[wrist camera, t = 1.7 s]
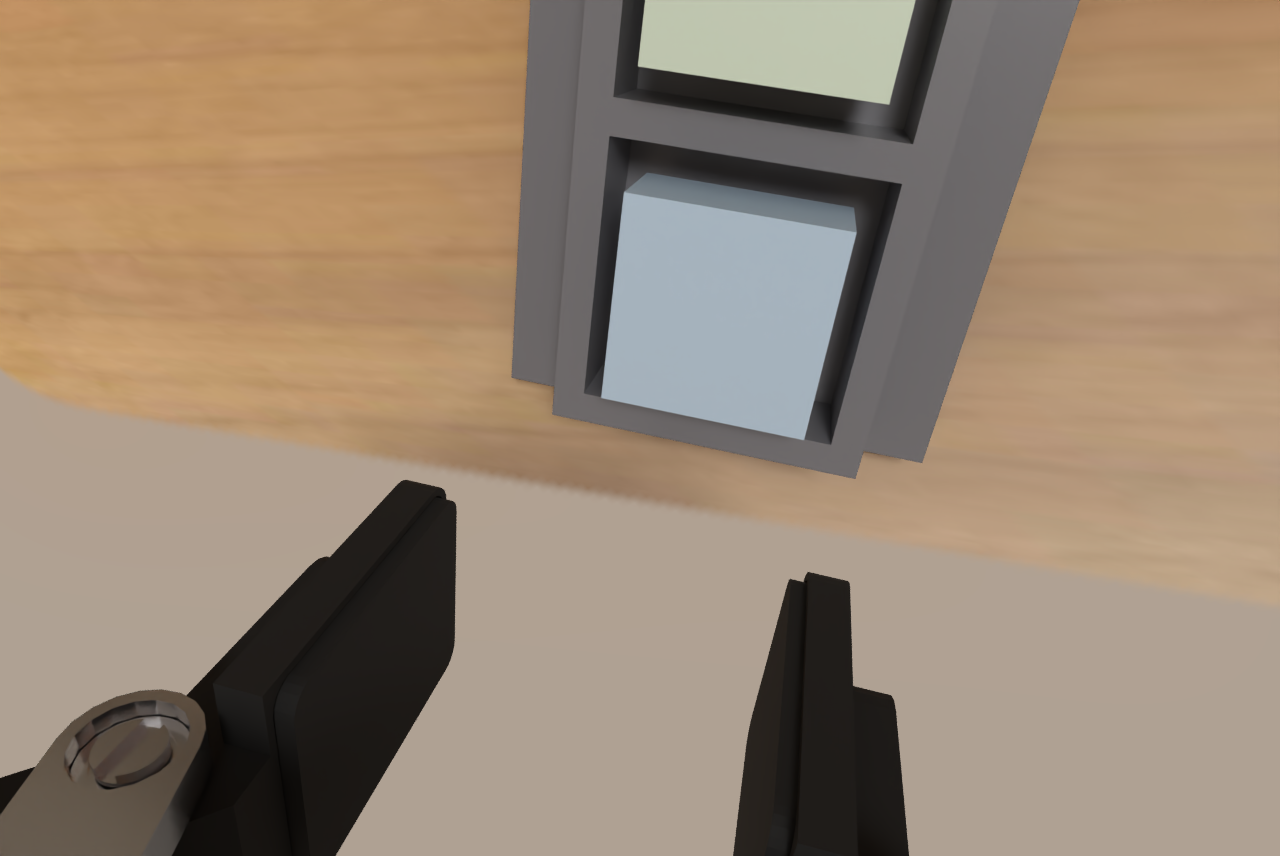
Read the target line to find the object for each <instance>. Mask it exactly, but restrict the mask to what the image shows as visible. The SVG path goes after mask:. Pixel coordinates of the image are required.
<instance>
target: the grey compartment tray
mask: <svg viewBox="0 0 1280 856" xmlns="http://www.w3.org/2000/svg"><path fill="white" fill-rule="evenodd" d="M1078 3H1079V0H916V1H915V5H914V9H913V13H912V16H911V20H910V24H909V28H908V32H907V36H906V40H905V44H904V48H903V52H902V56H901V60H900V64H899V68H898V72H897V76H896V80H895V83H894V87H893V91H892V95H891V99H890V103H889V105H888V104H881V103H875V102H868V101H862V100H855V99H849V98H842V97H835V96H829V95H822V94H816V93H809V92H803V91H796V90H789V89H783V88H776V87H770V86H763V85H757V84H750V83H743V82H737V81H730V80H724V79H717V78H710V77H704V76H697V75H691V74H684V73H678V72H671V71H664V70H658V69H651V68H645V67H638V60H639V51H640V42H641V33H642V24H643V15H644V6H645V0H530V19H529V39H528V59H527V79H526V99H525V119H524V139H523V159H522V179H521V199H520V220H519V240H518V260H517V280H516V300H515V320H514V340H513V360H512V378H515V379H520V380H525V381H530V382H535V383H540V384H544V385H549V386H554V399H553V412H552V415H557V416H562V417H566V418H571V419H576V420H580V421H585V422H590V423H595V424H599V425H604V426H609V427H613V428H618V429H623V430H628V431H632V432H637V433H642V434H646V435H651V436H656V437H660V438H665V439H670V440H675V441H679V442H684V443H689V444H693V445H698V446H703V447H707V448H712V449H717V450H722V451H726V452H731V453H736V454H740V455H745V456H750V457H754V458H759V459H764V460H769V461H773V462H778V463H783V464H787V465H792V466H797V467H801V468H806V469H811V470H816V471H820V472H825V473H830V474H834V475H839V476H844V477H849V478H853V479H855V478H856V475H857V472H858V468H859V465H860V462H861V458H862V455H863V451H867V452H871V453H876V454H881V455H886V456H891V457H895V458H900V459H905V460H910V461H915V462H919V463H922V462H923V459H924V456H925V453H926V450H927V447H928V444H929V441H930V438H931V435H932V432H933V429H934V426H935V423H936V420H937V418H938V415H939V412H940V409H941V406H942V403H943V400H944V397H945V394H946V391H947V388H948V385H949V382H950V379H951V376H952V373H953V371H954V368H955V365H956V362H957V359H958V356H959V353H960V350H961V347H962V344H963V341H964V338H965V335H966V332H967V329H968V326H969V324H970V321H971V318H972V315H973V312H974V309H975V306H976V303H977V300H978V297H979V294H980V291H981V288H982V285H983V282H984V279H985V277H986V274H987V271H988V268H989V265H990V262H991V259H992V256H993V253H994V250H995V247H996V244H997V241H998V238H999V235H1000V232H1001V229H1002V227H1003V224H1004V221H1005V218H1006V215H1007V212H1008V209H1009V206H1010V203H1011V200H1012V197H1013V194H1014V191H1015V188H1016V185H1017V182H1018V180H1019V177H1020V174H1021V171H1022V168H1023V165H1024V162H1025V159H1026V156H1027V153H1028V150H1029V147H1030V144H1031V141H1032V138H1033V135H1034V133H1035V130H1036V127H1037V124H1038V121H1039V118H1040V115H1041V112H1042V109H1043V106H1044V103H1045V100H1046V97H1047V94H1048V91H1049V88H1050V85H1051V83H1052V80H1053V77H1054V74H1055V71H1056V68H1057V65H1058V62H1059V59H1060V56H1061V53H1062V50H1063V47H1064V44H1065V41H1066V38H1067V36H1068V33H1069V30H1070V27H1071V24H1072V21H1073V18H1074V15H1075V12H1076V9H1077V6H1078ZM646 173H653V174H659V175H665V176H671V177H676V178H682V179H688V180H694V181H700V182H706V183H712V184H718V185H724V186H730V187H735V188H741V189H747V190H753V191H759V192H765V193H771V194H777V195H783V196H789V197H795V198H800V199H806V200H812V201H818V202H824V203H830V204H836V205H842V206H848V207H854V212H855V222H856V231H857V233H856V237H855V241H854V245H853V249H852V253H851V257H850V261H849V265H848V269H847V273H846V277H845V281H844V285H843V289H842V292H841V296H840V300H839V304H838V308H837V312H836V316H835V320H834V324H833V328H832V332H831V336H830V340H829V344H828V348H827V352H826V356H825V360H824V363H823V367H822V371H821V375H820V379H819V383H818V387H817V391H816V395H815V399H814V403H813V407H812V411H811V415H810V419H809V423H808V427H807V430H806V434H805V438H804V440H800V439H796V438H791V437H786V436H781V435H776V434H772V433H767V432H762V431H757V430H752V429H748V428H743V427H738V426H733V425H728V424H724V423H719V422H714V421H709V420H704V419H700V418H695V417H690V416H685V415H680V414H676V413H671V412H666V411H661V410H656V409H652V408H647V407H642V406H637V405H632V404H628V403H623V402H618V401H613V400H608V399H604V398H601V395H602V386H603V377H604V368H605V359H606V350H607V341H608V332H609V323H610V314H611V305H612V296H613V286H614V277H615V268H616V259H617V250H618V241H619V232H620V223H621V214H622V205H623V196H624V192H625V191H626V190H627V189H628V188H630V187H631V186H632V185H633V184H634V183H635V182H637V181H638V180H639V179H640V178H641V177H643V176H644V175H645V174H646Z"/></svg>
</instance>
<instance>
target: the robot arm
mask: <svg viewBox="0 0 1280 856" xmlns="http://www.w3.org/2000/svg"><path fill="white" fill-rule="evenodd" d="M455 571H456V504H455V503H454V502H453V501H450V500H446V494H445V491H444V490H443V489H442V488H439V487H435V486H431V485H426V484H421V483H418V482H413V481H409V480H403V481H401V482H400V483H399V484H398V485H397V486H396V487H395V488H394V489H393V490H392V491H391V492H390V493H389V494H388V495H387V496H386V497H385V499H384V500H383V501H382V502H381V503H380V504H379V505H378V506H377V507H376V508H375V509H374V510H373V511H372V513H371V514H370V515H369V516H368V517H367V518H366V519H365V520H364V521H363V522H362V523H361V524H360V525H359V527H358V528H357V529H356V530H355V531H354V532H353V533H352V534H351V535H350V536H349V537H348V538H347V539H346V541H345V542H344V543H343V544H342V545H341V546H340V547H339V548H338V549H337V550H336V551H335V552H334V554H332V556H331V557H323V558H320V559H318V560H316V561H315V562H314V563H313V564H312V565H310V566H309V567H308V568H307V569H306V571H305V572H304V573H303V574H302V575H301V576H300V577H299V578H298V579H297V580H296V581H295V582H294V583H293V584H292V585H291V586H290V587H289V588H288V589H287V590H286V592H285V593H284V594H283V595H282V596H281V597H280V598H279V599H278V600H277V601H276V602H275V603H274V604H273V605H272V606H271V607H270V608H269V609H268V610H267V611H266V613H265V614H264V615H263V616H262V617H261V618H260V619H259V620H258V621H257V622H256V623H255V624H254V625H253V626H252V628H250V629H249V630H248V631H247V633H246V634H245V635H244V636H243V637H242V638H241V639H240V640H239V641H238V642H237V643H236V644H235V645H234V646H233V647H232V648H231V649H230V650H229V651H228V653H227V654H226V655H225V656H224V657H223V658H222V659H221V660H220V661H219V662H218V663H217V664H216V665H215V666H214V667H213V668H212V669H211V670H210V671H209V672H208V673H207V675H206V676H205V677H204V678H203V679H202V680H201V681H200V682H199V683H198V684H197V685H196V686H195V687H194V688H193V689H192V690H191V691H190V692H189V693H188V694H187V696H186V695H184V694H182V693H178V692H173V691H168V690H145V691H137V692H133V693H129V694H125V695H121V696H117V697H115V698H113V699H110V700H108V701H106V702H103V703H101V704H99V705H97V706H95V707H93V708H91V709H90V710H88V711H87V712H85V713H84V714H82V715H81V716H80V717H78V718H77V719H75V720H74V721H73V722H71V723H70V725H69V726H68V727H67V728H66V729H65V730H64V731H63V732H62V733H61V734H60V735H59V736H58V737H57V738H56V740H55V741H54V742H53V744H52V745H51V747H50V748H49V749H48V750H47V752H46V753H45V755H44V756H43V757H42V759H41V760H40V761H39V763H38V764H37V766H36V767H33V768H30V769H27V770H24V771H20V772H17V773H14V774H11V775H8V776H5V777H2V778H0V856H336V853H337V852H338V851H339V849H340V847H341V845H342V844H343V842H344V840H345V839H346V837H347V835H348V834H349V832H350V830H351V829H352V827H353V825H354V824H355V822H356V820H357V819H358V817H359V815H360V813H361V812H362V810H363V808H364V807H365V805H366V803H367V802H368V800H369V798H370V796H371V795H372V793H373V792H374V790H375V788H376V786H377V785H378V783H379V782H380V780H381V778H382V776H383V775H384V773H385V771H386V770H387V768H388V766H389V765H390V763H391V761H392V759H393V758H394V756H395V754H396V753H397V751H398V749H399V748H400V746H401V744H402V743H403V741H404V739H405V738H406V736H407V734H408V732H409V731H410V729H411V727H412V726H413V724H414V722H415V720H416V719H417V717H418V716H419V714H420V712H421V711H422V709H423V707H424V706H425V704H426V702H427V701H428V699H429V697H430V695H431V694H432V692H433V690H434V688H435V687H436V685H437V684H438V682H439V680H440V679H441V677H442V675H443V674H444V672H445V670H446V668H447V666H448V664H449V662H450V659H451V656H452V653H453V648H454V641H455V640H454V639H455V578H456V577H455V576H456V573H455ZM852 673H853V672H852V639H851V606H850V584H849V582H848V581H845V580H840V579H836V578H832V577H828V576H823V575H819V574H815V573H810V572H808V573H807V574H806V576H805V579H804V582H800V581H796V580H792V579H790V580H789V582H788V585H787V588H786V592H785V596H784V600H783V603H782V607H781V611H780V614H779V618H778V622H777V625H776V629H775V633H774V637H773V640H772V644H771V648H770V651H769V655H768V659H767V663H766V666H765V670H764V674H763V678H762V681H761V685H760V689H759V693H758V696H757V700H756V703H755V707H754V711H753V715H752V719H751V723H750V728H749V732H748V739H747V745H746V753H745V762H744V770H743V778H742V786H741V796H740V803H739V812H738V820H737V828H736V837H735V845H734V854H733V856H909V851H908V840H907V828H906V818H905V808H904V807H905V806H904V795H903V784H902V773H901V762H900V751H899V740H898V729H897V718H896V709H895V703H894V700H893V698H892V696H891V695H888V694H883V693H879V692H875V691H871V690H867V689H863V688H859V687H855V686H853V674H852Z"/></svg>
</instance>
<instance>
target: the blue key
mask: <svg viewBox="0 0 1280 856" xmlns="http://www.w3.org/2000/svg"><path fill="white" fill-rule="evenodd" d="M856 233H857V231H856V222H855V212H854V207H848V206H842V205H836V204H830V203H824V202H818V201H812V200H806V199H800V198H795V197H789V196H783V195H777V194H771V193H765V192H759V191H753V190H747V189H741V188H735V187H730V186H724V185H718V184H712V183H706V182H700V181H694V180H688V179H682V178H676V177H671V176H665V175H659V174H653V173H646V174H645V175H644V176H643V177H641V178H640V179H639V180H638V181H637V182H635V183H634V184H633V185H632V186H631V187H630V188H628V189H627V190H626V191H625V192H624V196H623V205H622V214H621V223H620V232H619V241H618V250H617V259H616V268H615V277H614V286H613V296H612V305H611V314H610V323H609V332H608V341H607V350H606V359H605V368H604V377H603V386H602V395H601V398H604V399H608V400H613V401H618V402H623V403H628V404H632V405H637V406H642V407H647V408H652V409H656V410H661V411H666V412H671V413H676V414H680V415H685V416H690V417H695V418H700V419H704V420H709V421H714V422H719V423H724V424H728V425H733V426H738V427H743V428H748V429H752V430H757V431H762V432H767V433H772V434H776V435H781V436H786V437H791V438H796V439H800V440H804V438H805V434H806V430H807V427H808V423H809V419H810V415H811V411H812V407H813V403H814V399H815V395H816V391H817V387H818V383H819V379H820V375H821V371H822V367H823V363H824V360H825V356H826V352H827V348H828V344H829V340H830V336H831V332H832V328H833V324H834V320H835V316H836V312H837V308H838V304H839V300H840V296H841V292H842V289H843V285H844V281H845V277H846V273H847V269H848V265H849V261H850V257H851V253H852V249H853V245H854V241H855V237H856Z"/></svg>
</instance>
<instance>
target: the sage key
mask: <svg viewBox="0 0 1280 856" xmlns="http://www.w3.org/2000/svg"><path fill="white" fill-rule="evenodd" d="M915 1H916V0H645V6H644V15H643V24H642V33H641V42H640V51H639V60H638V67H645V68H651V69H658V70H664V71H671V72H678V73H684V74H691V75H697V76H704V77H710V78H717V79H724V80H730V81H737V82H743V83H750V84H757V85H763V86H770V87H776V88H783V89H789V90H796V91H803V92H809V93H816V94H822V95H829V96H835V97H842V98H849V99H855V100H862V101H868V102H875V103H881V104H888V105H889V103H890V99H891V95H892V91H893V87H894V83H895V80H896V76H897V72H898V68H899V64H900V60H901V56H902V52H903V48H904V44H905V40H906V36H907V32H908V28H909V24H910V20H911V16H912V13H913V9H914V5H915Z"/></svg>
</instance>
